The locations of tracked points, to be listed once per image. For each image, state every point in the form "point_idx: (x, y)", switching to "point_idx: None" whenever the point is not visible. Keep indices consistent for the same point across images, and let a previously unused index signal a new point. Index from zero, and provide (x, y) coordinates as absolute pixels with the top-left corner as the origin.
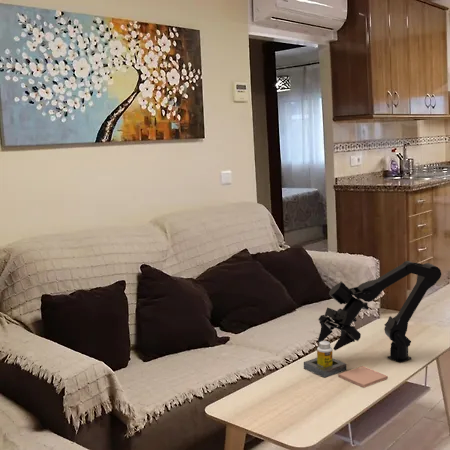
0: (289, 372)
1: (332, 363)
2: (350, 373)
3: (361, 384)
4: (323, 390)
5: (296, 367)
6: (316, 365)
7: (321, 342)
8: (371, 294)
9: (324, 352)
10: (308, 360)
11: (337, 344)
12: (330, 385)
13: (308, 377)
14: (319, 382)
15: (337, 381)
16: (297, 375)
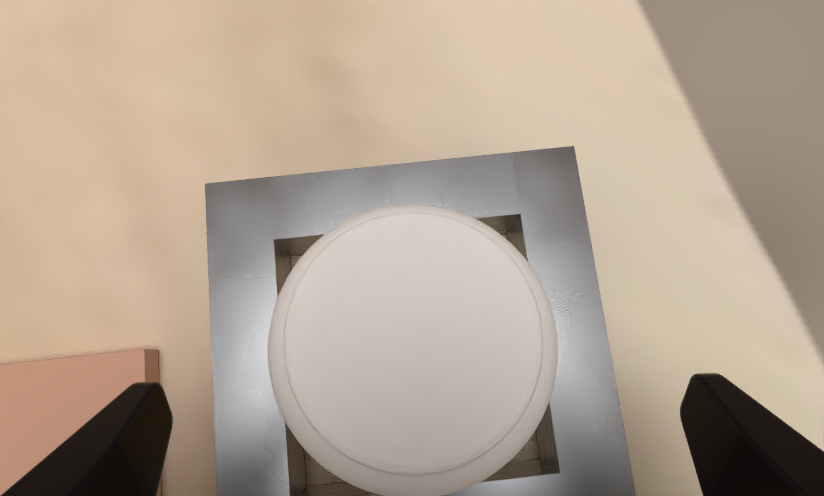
0: (536, 4)
1: None
2: None
3: None
4: (7, 29)
5: (616, 127)
6: None
7: (469, 283)
8: None
9: (303, 256)
10: (585, 221)
11: (25, 474)
12: (47, 146)
13: (330, 83)
14: (169, 101)
15: (73, 264)
16: (431, 26)
